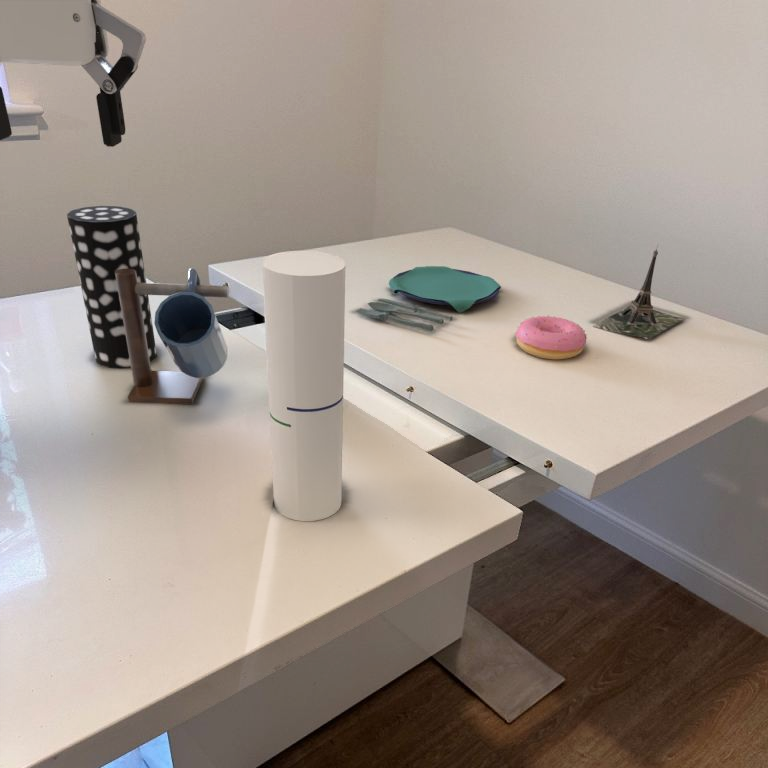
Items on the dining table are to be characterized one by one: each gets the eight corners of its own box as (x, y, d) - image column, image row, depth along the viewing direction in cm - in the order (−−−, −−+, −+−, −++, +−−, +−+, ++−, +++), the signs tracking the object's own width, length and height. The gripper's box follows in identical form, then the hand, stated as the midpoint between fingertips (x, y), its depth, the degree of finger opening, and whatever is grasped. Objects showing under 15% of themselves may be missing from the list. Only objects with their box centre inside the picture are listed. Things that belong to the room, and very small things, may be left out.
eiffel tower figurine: (648, 343, 117) (671, 260, 110) (592, 326, 123) (610, 246, 115) (684, 321, 127) (707, 243, 119) (631, 306, 132) (650, 230, 124)
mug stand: (127, 407, 91) (105, 281, 82) (143, 380, 98) (124, 261, 89) (232, 410, 92) (221, 286, 83) (240, 383, 98) (232, 265, 89)
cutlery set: (515, 292, 135) (517, 280, 134) (439, 340, 114) (441, 326, 113) (424, 271, 144) (425, 259, 142) (337, 311, 123) (337, 298, 121)
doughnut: (528, 365, 108) (533, 338, 106) (504, 337, 117) (507, 312, 114) (595, 362, 110) (601, 336, 108) (566, 334, 119) (571, 310, 116)
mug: (226, 378, 90) (212, 347, 81) (171, 377, 90) (152, 345, 81) (231, 300, 92) (218, 261, 84) (178, 298, 92) (160, 259, 83)
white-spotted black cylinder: (125, 345, 107) (100, 202, 95) (169, 357, 104) (150, 212, 93) (83, 364, 101) (52, 215, 89) (129, 378, 98) (103, 225, 86)
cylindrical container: (332, 525, 73) (334, 279, 58) (265, 515, 74) (250, 270, 59) (347, 487, 79) (353, 255, 64) (284, 479, 79) (276, 247, 65)
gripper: (139, -102, 57) (166, 139, 66) (-87, -117, 56) (-25, 130, 66) (111, -115, 50) (146, 153, 60) (-142, -131, 50) (-64, 143, 60)
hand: (57, 141), depth 63 cm, fingers open, 9 cm apart
